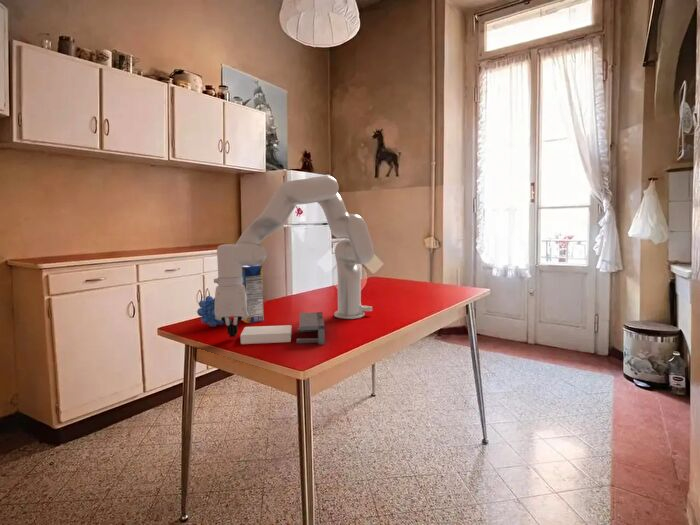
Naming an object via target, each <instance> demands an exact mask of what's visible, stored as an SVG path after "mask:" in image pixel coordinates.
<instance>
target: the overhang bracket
mask: <svg viewBox="0 0 700 525" xmlns="http://www.w3.org/2000/svg"><path fill="white" fill-rule="evenodd" d="M296 331H297V332H296V333H315V332H316V334H317V337H314V338H312V337H311V338H307V337H306V338H296V344H313V343H315V344H316V343H317V344H318V346H319V345H320V346H321V345H325V344H326V343H325V342H326V341H325V340H326V338H325V336H326V334H325V332H326V331H325V321H324V315H323V312H322V311H321V312H300V313H299V327H298V328H297V330H296Z"/></svg>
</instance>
